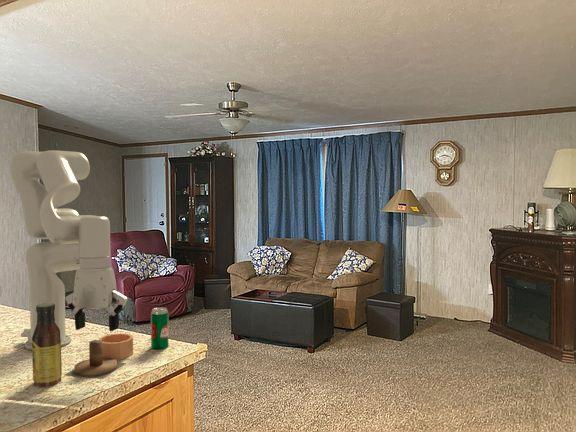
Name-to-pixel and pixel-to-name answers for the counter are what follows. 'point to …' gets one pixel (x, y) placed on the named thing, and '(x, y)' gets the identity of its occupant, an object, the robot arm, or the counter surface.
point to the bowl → (117, 346)
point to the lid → (95, 362)
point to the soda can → (159, 328)
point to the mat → (95, 376)
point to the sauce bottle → (46, 348)
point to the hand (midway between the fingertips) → (97, 329)
